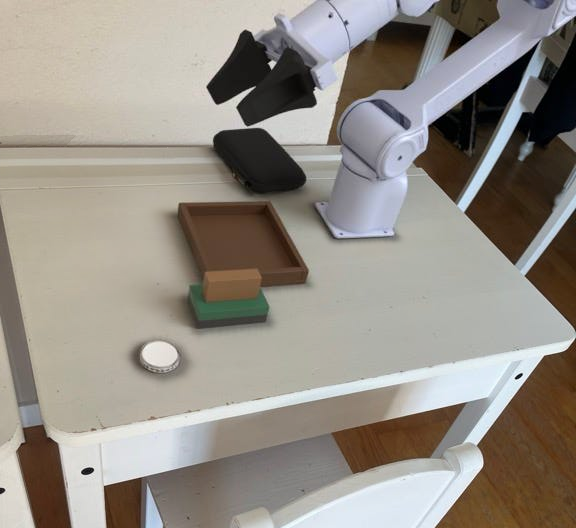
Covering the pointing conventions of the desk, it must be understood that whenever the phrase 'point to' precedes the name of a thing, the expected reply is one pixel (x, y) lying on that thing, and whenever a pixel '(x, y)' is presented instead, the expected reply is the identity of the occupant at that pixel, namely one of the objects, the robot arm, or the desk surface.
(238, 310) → the brush
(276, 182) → the carrying case
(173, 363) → the white bottle cap
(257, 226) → the tray
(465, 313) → the desk surface
